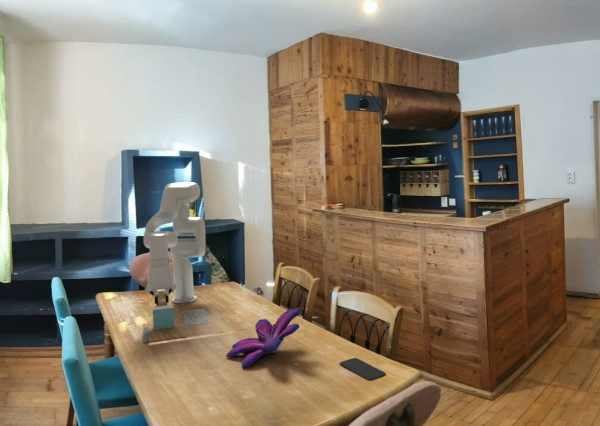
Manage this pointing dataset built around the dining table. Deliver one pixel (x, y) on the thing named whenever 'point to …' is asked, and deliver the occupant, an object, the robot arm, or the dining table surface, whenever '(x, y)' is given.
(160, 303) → the tan bar with plate
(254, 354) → the decorative flower
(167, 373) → the dining table surface
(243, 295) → the dining table surface
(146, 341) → the mat
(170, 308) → the tile
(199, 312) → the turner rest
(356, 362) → the phone
